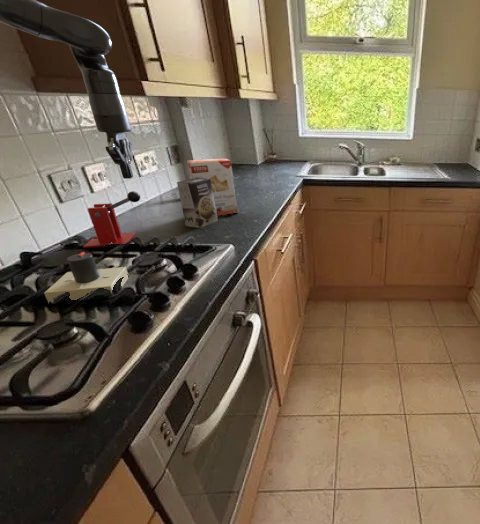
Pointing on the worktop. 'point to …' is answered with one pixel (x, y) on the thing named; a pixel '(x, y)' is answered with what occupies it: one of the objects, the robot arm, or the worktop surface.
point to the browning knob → (83, 267)
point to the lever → (125, 200)
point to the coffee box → (197, 202)
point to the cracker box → (217, 182)
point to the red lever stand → (106, 227)
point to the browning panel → (81, 289)
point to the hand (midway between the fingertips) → (128, 178)
